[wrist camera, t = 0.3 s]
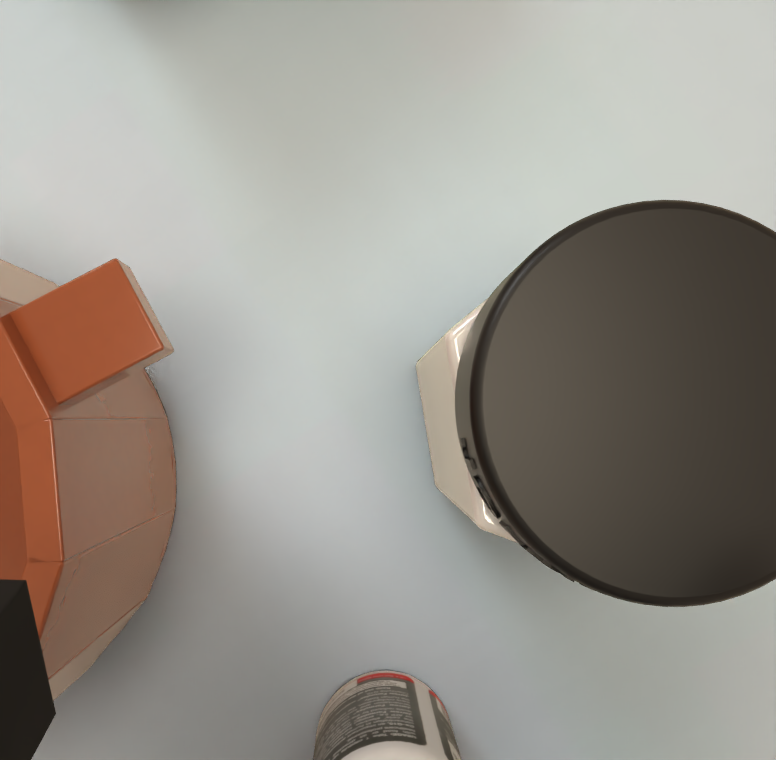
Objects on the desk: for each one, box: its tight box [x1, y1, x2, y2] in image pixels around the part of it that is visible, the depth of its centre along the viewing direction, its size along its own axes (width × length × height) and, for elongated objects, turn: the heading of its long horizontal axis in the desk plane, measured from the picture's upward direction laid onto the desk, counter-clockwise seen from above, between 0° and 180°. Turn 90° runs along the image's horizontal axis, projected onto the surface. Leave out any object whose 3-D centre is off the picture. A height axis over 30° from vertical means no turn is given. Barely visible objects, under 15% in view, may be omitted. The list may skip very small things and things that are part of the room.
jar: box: [416, 200, 776, 607], centre depth 20 cm, size 9×8×12 cm
